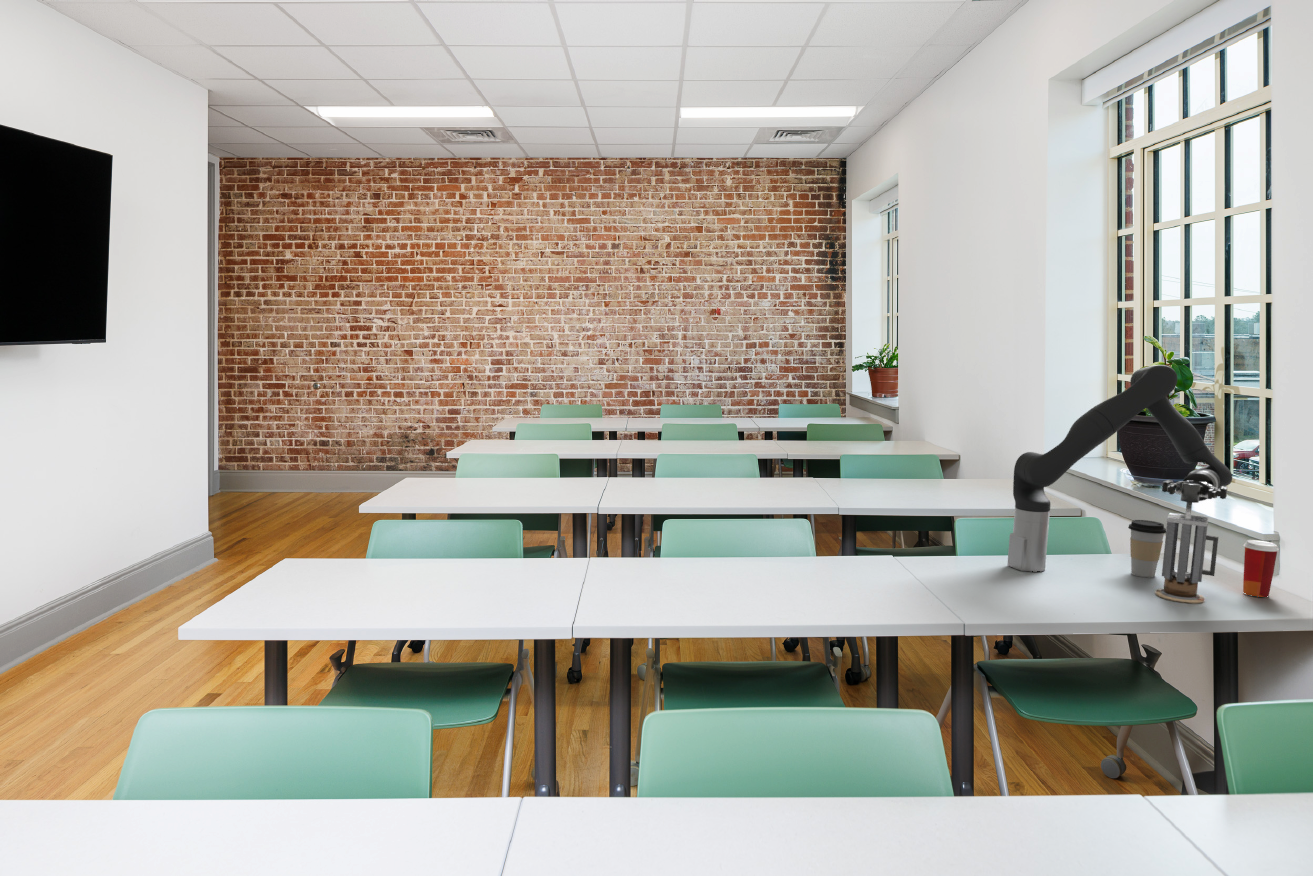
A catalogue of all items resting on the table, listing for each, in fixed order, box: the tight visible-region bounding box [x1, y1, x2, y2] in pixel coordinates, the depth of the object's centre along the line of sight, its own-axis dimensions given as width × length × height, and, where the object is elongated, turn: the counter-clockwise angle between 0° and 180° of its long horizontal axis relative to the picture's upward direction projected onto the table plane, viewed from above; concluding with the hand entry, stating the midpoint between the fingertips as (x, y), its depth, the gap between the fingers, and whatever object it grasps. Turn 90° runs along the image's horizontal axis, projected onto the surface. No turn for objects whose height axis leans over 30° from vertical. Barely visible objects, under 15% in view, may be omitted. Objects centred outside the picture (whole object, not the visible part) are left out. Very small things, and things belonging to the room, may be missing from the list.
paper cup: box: [1242, 539, 1280, 598], centre depth 230 cm, size 8×8×14 cm
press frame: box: [1154, 512, 1219, 605], centre depth 225 cm, size 12×11×21 cm
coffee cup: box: [1128, 519, 1167, 578], centre depth 247 cm, size 9×9×15 cm
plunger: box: [1172, 483, 1200, 579], centre depth 225 cm, size 6×6×24 cm
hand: (1190, 492), depth 223 cm, fingers open, 8 cm apart
